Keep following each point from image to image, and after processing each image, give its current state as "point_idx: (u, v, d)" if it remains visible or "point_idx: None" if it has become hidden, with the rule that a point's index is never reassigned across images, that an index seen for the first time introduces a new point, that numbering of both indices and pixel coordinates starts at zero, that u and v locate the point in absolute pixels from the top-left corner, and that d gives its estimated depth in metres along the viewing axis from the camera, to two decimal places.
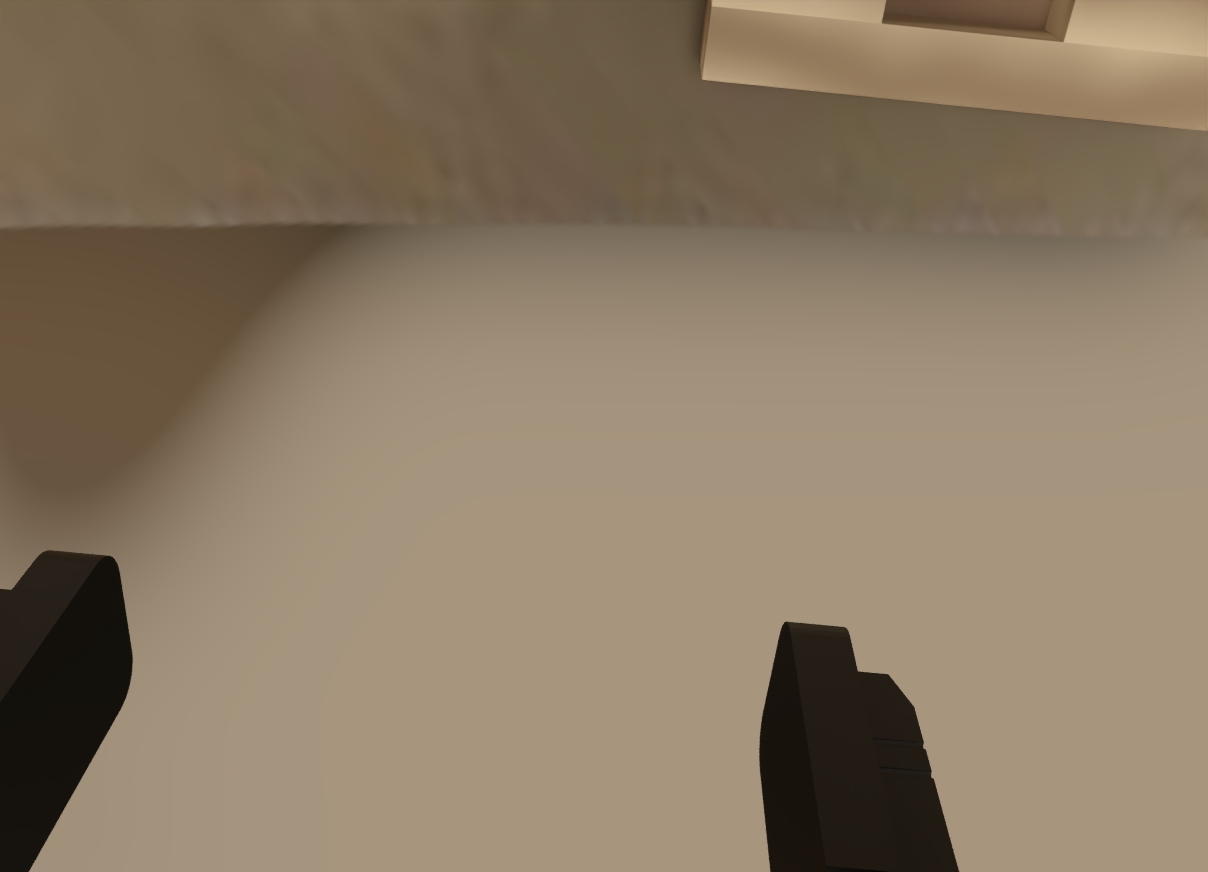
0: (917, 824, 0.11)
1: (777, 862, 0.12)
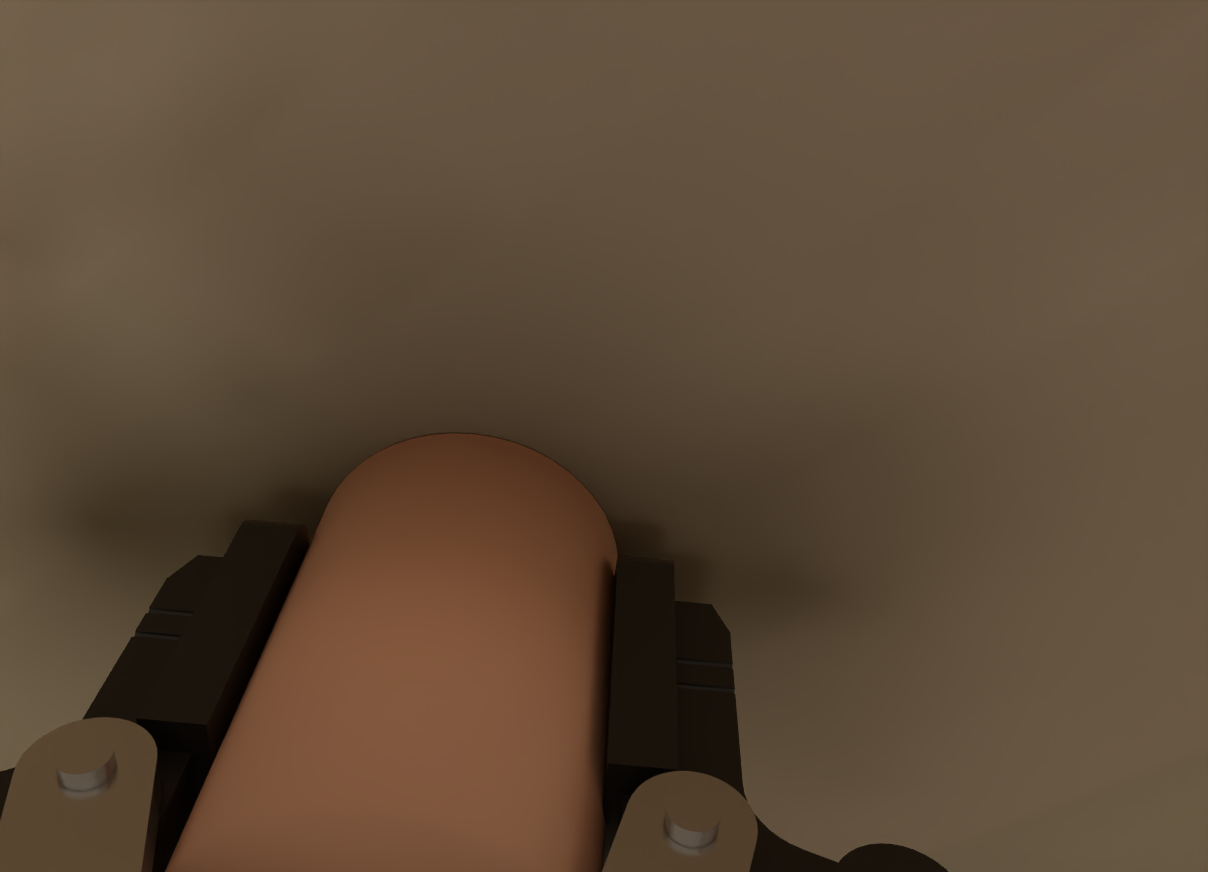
0: (711, 733, 0.12)
1: None
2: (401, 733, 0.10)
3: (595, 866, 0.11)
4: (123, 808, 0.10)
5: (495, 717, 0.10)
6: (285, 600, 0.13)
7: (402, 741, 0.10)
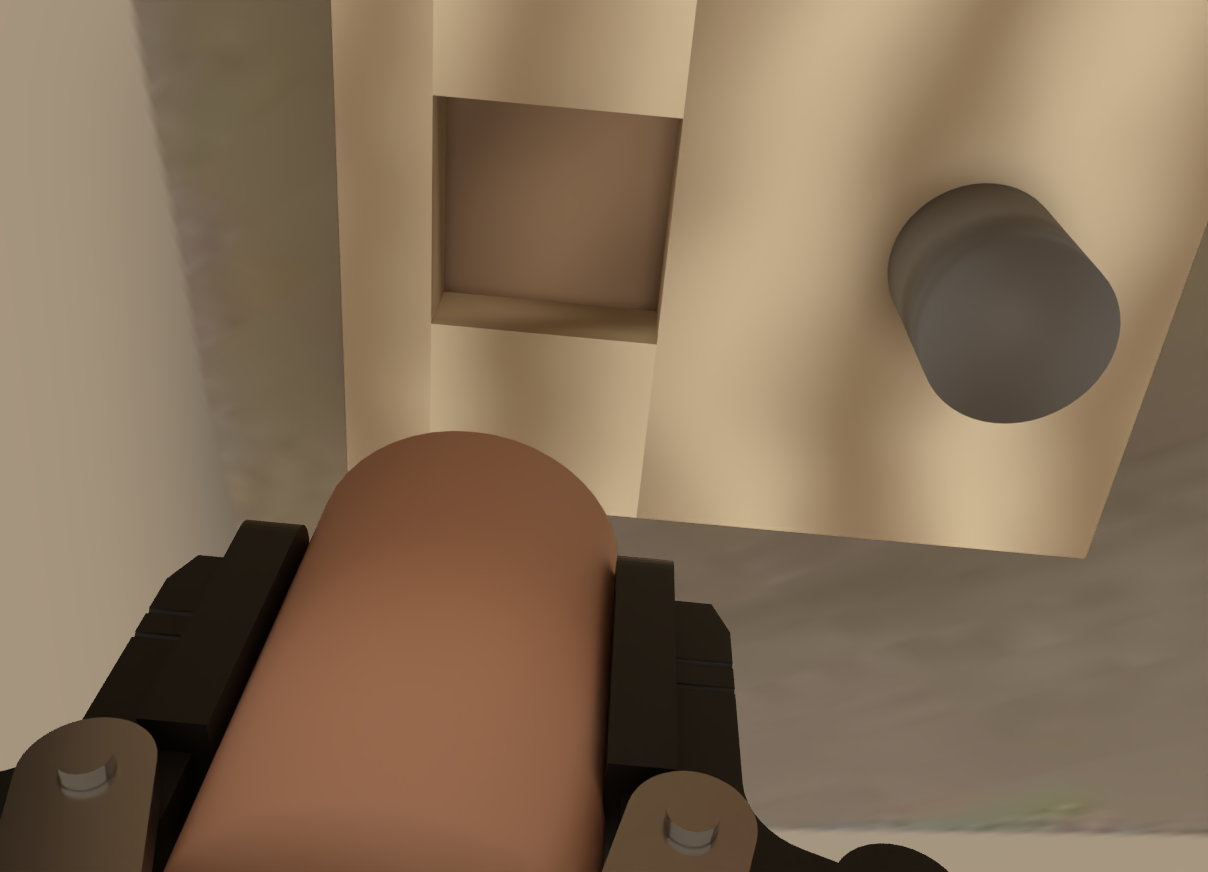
0: (711, 733, 0.12)
1: None
2: (402, 731, 0.10)
3: (595, 863, 0.11)
4: (124, 808, 0.10)
5: (493, 715, 0.10)
6: (285, 597, 0.13)
7: (402, 737, 0.10)
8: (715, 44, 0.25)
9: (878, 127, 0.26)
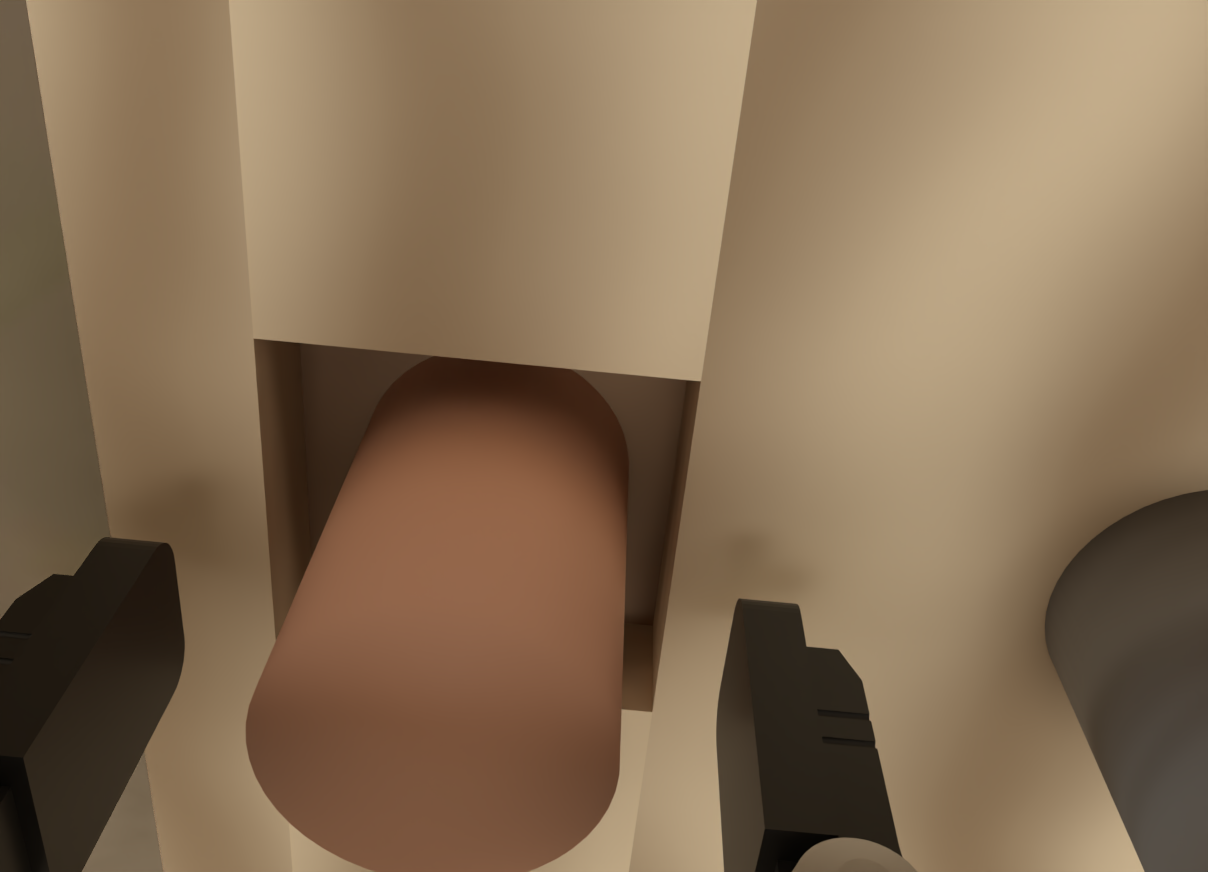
0: (859, 791, 0.12)
1: (727, 832, 0.13)
2: (456, 560, 0.12)
3: (616, 678, 0.13)
4: None
5: (531, 553, 0.13)
6: None
7: (457, 564, 0.12)
8: (761, 262, 0.14)
9: (1048, 399, 0.14)
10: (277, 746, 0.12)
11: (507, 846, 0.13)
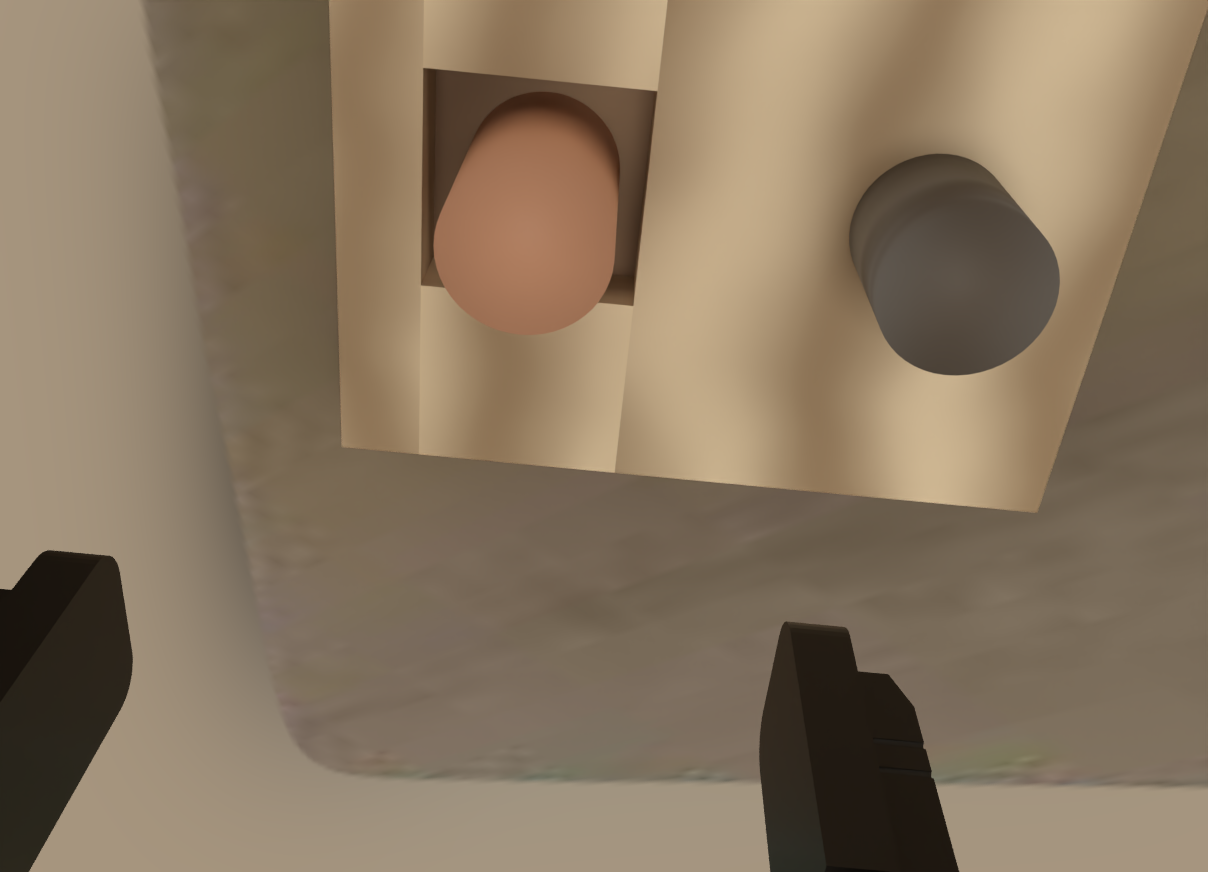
0: (917, 824, 0.11)
1: (777, 862, 0.12)
2: (535, 152, 0.25)
3: (612, 220, 0.26)
4: None
5: (570, 157, 0.26)
6: (465, 156, 0.28)
7: (536, 154, 0.25)
8: (687, 21, 0.27)
9: (839, 100, 0.28)
10: (448, 248, 0.25)
11: (559, 309, 0.26)
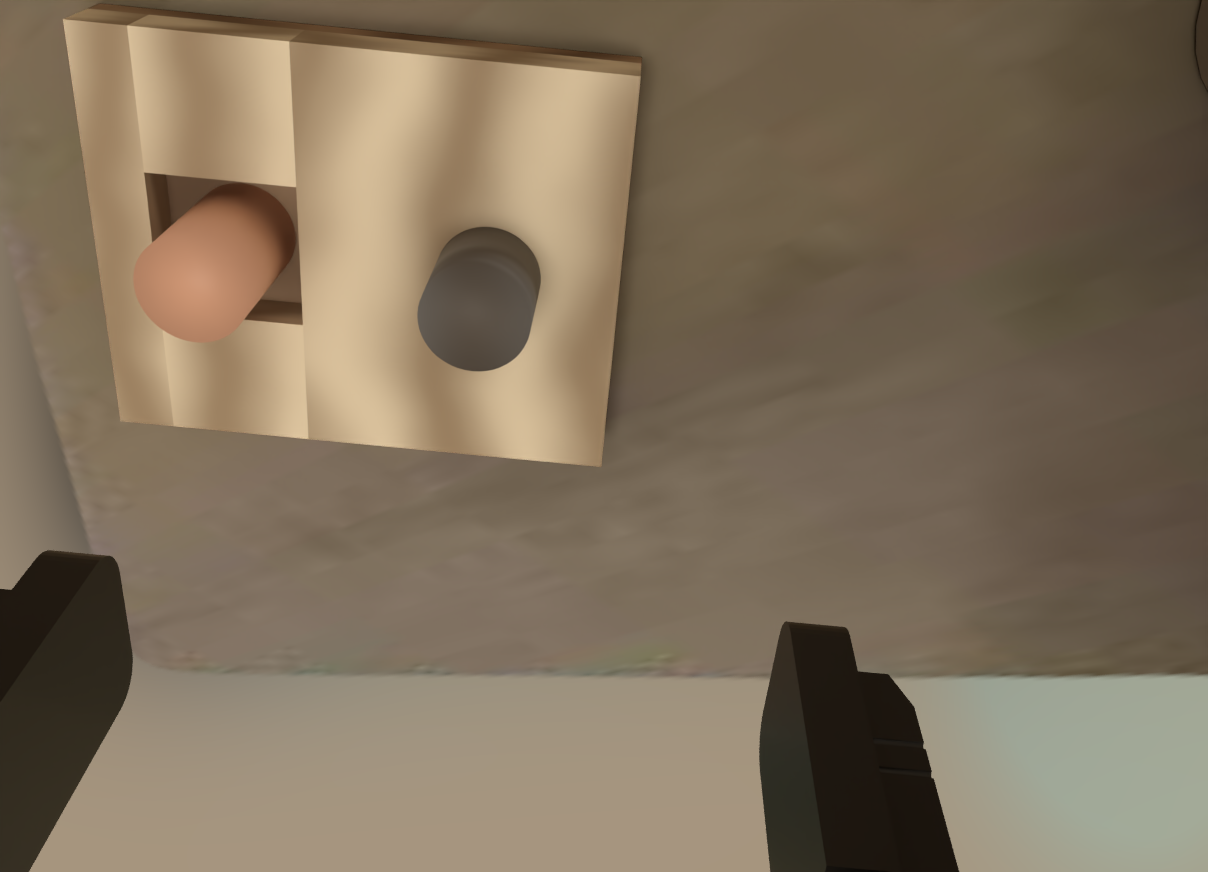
0: (917, 824, 0.11)
1: (777, 862, 0.12)
2: (195, 227, 0.40)
3: (249, 269, 0.41)
4: None
5: (222, 229, 0.41)
6: None
7: (194, 228, 0.40)
8: (308, 144, 0.42)
9: (413, 193, 0.42)
10: (143, 287, 0.40)
11: (218, 325, 0.41)
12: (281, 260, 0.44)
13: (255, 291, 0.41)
